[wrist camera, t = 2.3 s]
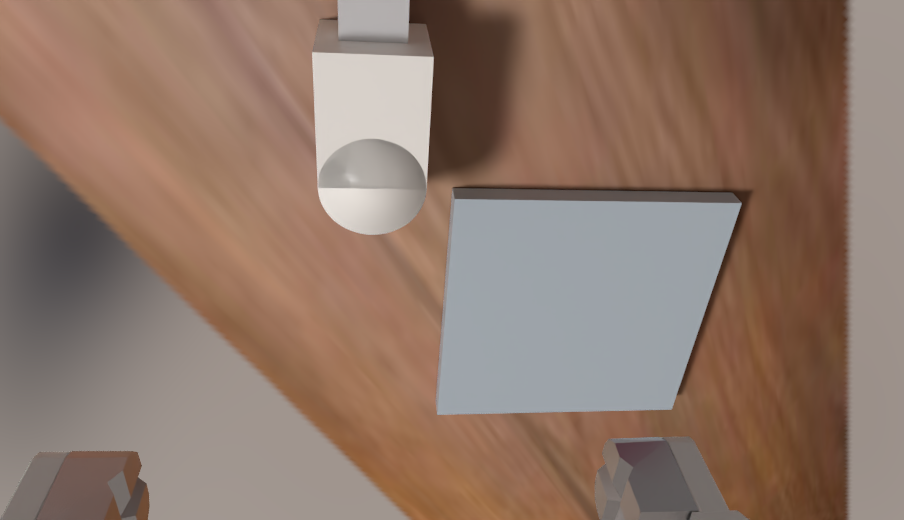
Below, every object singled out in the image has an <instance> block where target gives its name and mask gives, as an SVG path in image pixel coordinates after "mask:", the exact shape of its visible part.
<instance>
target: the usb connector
mask: <svg viewBox="0 0 904 520" xmlns="http://www.w3.org/2000/svg"><path fill="white" fill-rule="evenodd" d="M409 1H410V0H338V20H325V19H320V20H319V24H318V29H317V33H316V38H315V42H314V47H313V51H312V59H313V83H314V107H315V131H316V155H317V179H318V193H319V198H320V201H321V203H322V206H323V207H324V209H325V211H326V212H327V213H328V215H329V216H330V217H331V218H332V219H333V220H334V221H335V222H337V223H338V224H339V225H341V226H342V227H344V228H346V229H348V230H351V231H353V232H357V233H361V234H369V235H377V234H385V233H389V232H392V231H395V230H397V229H399V228H401V227H403V226H405V225H406V224H408V223H409V222H410V221H411V220H412V219H413V218H414V217H415V216H416V215H417V214H418V212H419V211H420V209H421V208H422V205H423V203H424V200H425V197H426V190H427V172H428V154H429V136H430V118H431V99H432V81H433V63H434V56H433V51H432V47H431V43H430V39H429V34H428V30H427V26H426V24H416V23H409Z"/></svg>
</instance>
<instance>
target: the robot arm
mask: <svg viewBox="0 0 904 520" xmlns="http://www.w3.org/2000/svg"><path fill="white" fill-rule="evenodd" d="M602 454H603V457H604V460H605V463H606V464H605V465H603V466H602V467H601V468H600V469H599V470H598V471H597V476H596V480H595V501H596V507H597V511H598V515H599V518H600V520H749V519H748V518H746V517H745V516H744V515H742V514H741V513H740V512H738V511H729V509H728V507H727V505H726V503H725V501H724V499H723V497H722V495H721V493H720V491H719V489H718V487H717V485H716V483H715V481H714V479H713V477H712V475H711V473H710V471H709V469H708V468H707V466H706V464H705V462H704V460H703V458H702V456H701V454H700V452H699V450H698V448H697V446H696V444H695V442H694V441H693V440H692V439H691V438H690V437H662V438H660V437H649V438H622V439H608V441H607V442H606V443H605V446H604V449H603V453H602ZM141 466H142V465H141V462H140V459H139V456H138V453H137V452H133V451H72V452H39V453H38V454H37V455H36V456H35V457H34V458H33V459H32V460H31V461H30V463H29V465H28V467H27V469H26V471H25V473H24V475H23V477H22V479H21V480H20V482H19V484H18V486H17V488H16V490H15V492H14V494H13V496H12V498H11V499H10V501H9V503H8V505H7V507H6V509H5V511H4V513H3V515H2V516H1V519H0V520H148V513H149V493H148V488H147V484H146V483H145V482H144V481H142V480H141V479H139V478H138V475H139V472H140V469H141Z"/></svg>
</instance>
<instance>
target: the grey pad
mask: <svg viewBox="0 0 904 520" xmlns="http://www.w3.org/2000/svg"><path fill="white" fill-rule="evenodd" d="M741 205H742V203H741V202H740V200H739V199H738V198H737V197H736V196H735V195H734V194H733V193H726V192H665V191H604V190H542V189H481V188H452V200H451V213H450V226H449V238H448V251H447V264H446V277H445V290H444V302H443V315H442V328H441V341H440V353H439V366H438V379H437V392H436V408H437V415H446V414H491V413H535V412H580V411H625V410H670V409H672V407H673V404H674V401H675V398H676V395H677V392H678V389H679V386H680V384H681V381H682V378H683V375H684V372H685V369H686V366H687V363H688V360H689V357H690V354H691V351H692V348H693V345H694V342H695V339H696V337H697V334H698V331H699V328H700V325H701V322H702V319H703V316H704V313H705V310H706V307H707V304H708V301H709V298H710V295H711V293H712V290H713V287H714V284H715V281H716V278H717V275H718V272H719V269H720V266H721V263H722V260H723V257H724V254H725V251H726V249H727V246H728V243H729V240H730V237H731V234H732V231H733V228H734V225H735V222H736V219H737V216H738V213H739V210H740V207H741Z"/></svg>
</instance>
